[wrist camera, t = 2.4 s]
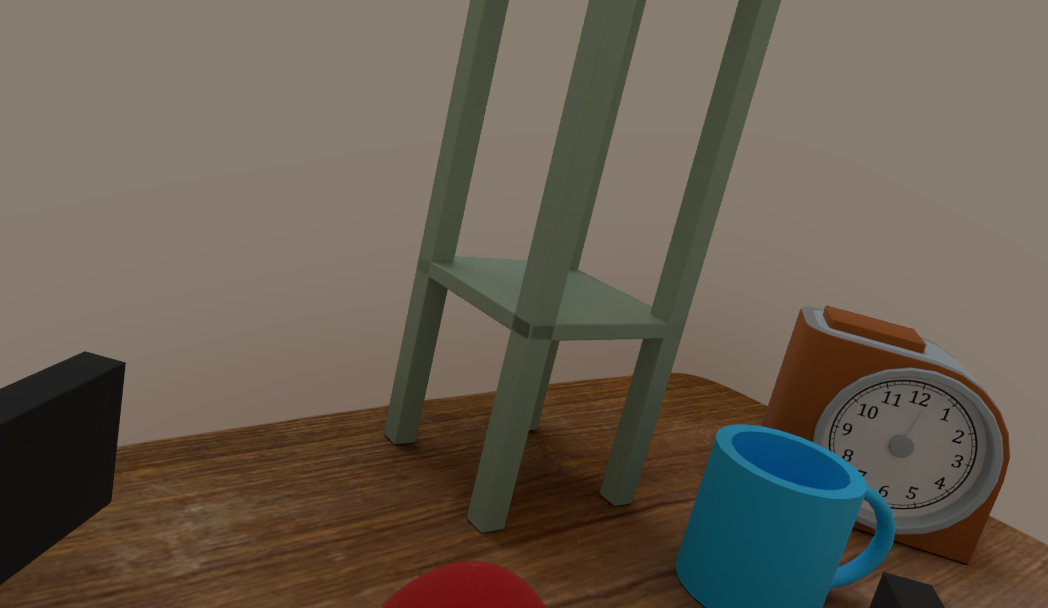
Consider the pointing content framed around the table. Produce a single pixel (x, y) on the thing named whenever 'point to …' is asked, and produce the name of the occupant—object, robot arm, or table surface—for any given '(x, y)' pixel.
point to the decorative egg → (466, 589)
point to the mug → (776, 523)
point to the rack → (567, 246)
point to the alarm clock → (896, 424)
